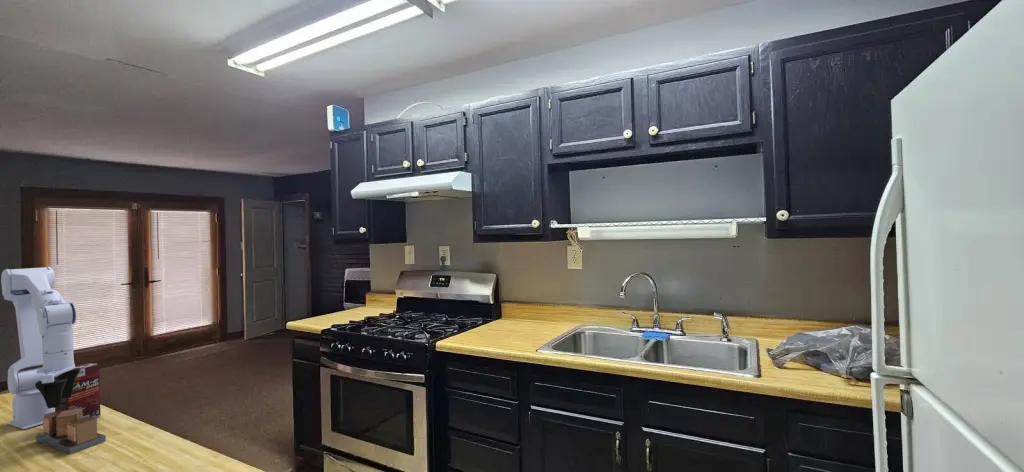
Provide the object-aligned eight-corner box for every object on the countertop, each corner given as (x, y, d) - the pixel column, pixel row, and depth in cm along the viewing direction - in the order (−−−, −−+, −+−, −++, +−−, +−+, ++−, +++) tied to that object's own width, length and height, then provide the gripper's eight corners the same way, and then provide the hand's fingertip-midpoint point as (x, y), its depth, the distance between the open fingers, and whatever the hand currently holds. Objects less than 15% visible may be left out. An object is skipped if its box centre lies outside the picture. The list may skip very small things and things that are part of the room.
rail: (36, 441, 118) (35, 416, 118) (71, 430, 125) (70, 406, 124) (70, 454, 111) (69, 427, 111) (105, 441, 118) (105, 416, 118)
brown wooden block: (62, 434, 119) (61, 411, 119) (83, 430, 121) (82, 408, 121) (56, 441, 115) (55, 417, 115) (77, 437, 117) (76, 414, 117)
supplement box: (68, 430, 125) (66, 372, 124) (54, 428, 126) (52, 371, 125) (102, 417, 133) (100, 363, 133) (89, 415, 134) (87, 362, 134)
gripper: (48, 346, 123) (50, 396, 123) (23, 360, 110) (25, 415, 110) (83, 342, 126) (85, 391, 126) (63, 355, 113) (64, 409, 114)
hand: (59, 402), depth 119 cm, fingers open, 7 cm apart
